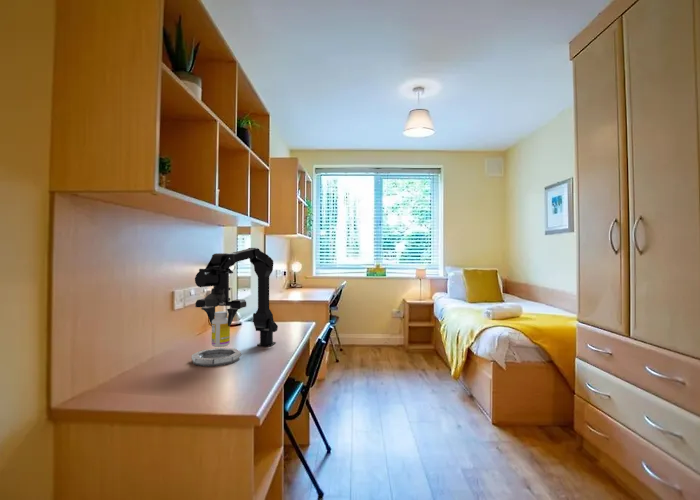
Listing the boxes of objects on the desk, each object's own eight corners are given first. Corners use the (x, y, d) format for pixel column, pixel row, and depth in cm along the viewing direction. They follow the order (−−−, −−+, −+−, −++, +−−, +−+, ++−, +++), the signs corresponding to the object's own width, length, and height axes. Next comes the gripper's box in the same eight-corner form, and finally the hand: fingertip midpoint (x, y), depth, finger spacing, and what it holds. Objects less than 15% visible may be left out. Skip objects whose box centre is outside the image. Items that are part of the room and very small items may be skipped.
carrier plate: (208, 353, 157) (208, 347, 157) (247, 355, 154) (247, 349, 154) (183, 365, 140) (183, 358, 140) (225, 367, 137) (225, 360, 137)
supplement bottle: (232, 343, 151) (232, 311, 151) (225, 347, 144) (225, 313, 144) (216, 343, 151) (216, 310, 151) (208, 347, 145) (208, 313, 145)
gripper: (187, 286, 142) (186, 328, 141) (233, 287, 138) (233, 330, 138) (203, 284, 153) (203, 323, 152) (247, 285, 149) (246, 325, 149)
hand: (220, 325), depth 148 cm, fingers closed on supplement bottle, 7 cm apart
